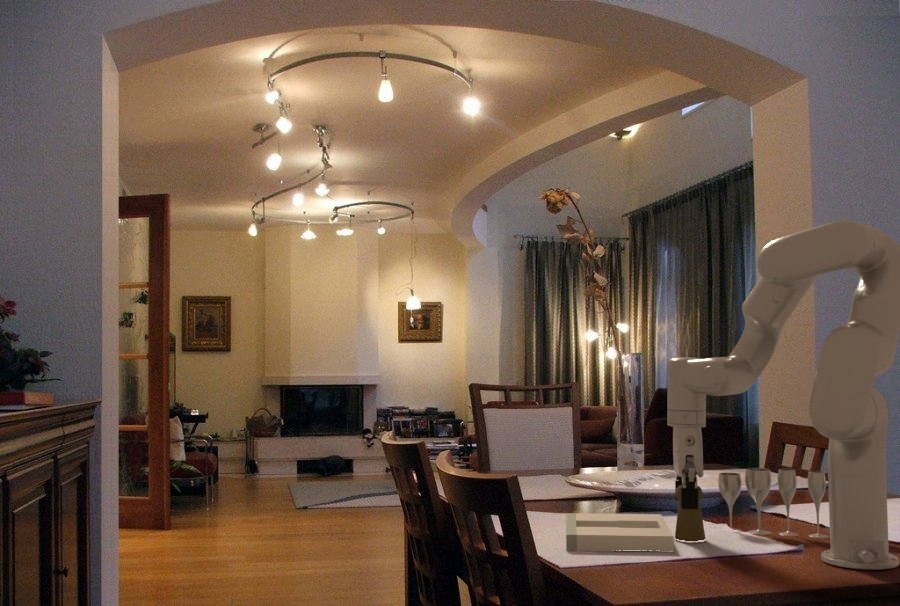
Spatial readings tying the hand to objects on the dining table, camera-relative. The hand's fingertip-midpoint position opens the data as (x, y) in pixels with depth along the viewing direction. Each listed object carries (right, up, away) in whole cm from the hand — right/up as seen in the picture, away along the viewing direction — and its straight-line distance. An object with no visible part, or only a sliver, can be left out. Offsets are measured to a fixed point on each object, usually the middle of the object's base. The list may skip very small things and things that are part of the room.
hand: (686, 504), depth 187 cm
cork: (+1, -7, -1) cm, 7 cm away
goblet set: (+22, -7, +4) cm, 24 cm away
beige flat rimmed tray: (-14, -7, +1) cm, 16 cm away
